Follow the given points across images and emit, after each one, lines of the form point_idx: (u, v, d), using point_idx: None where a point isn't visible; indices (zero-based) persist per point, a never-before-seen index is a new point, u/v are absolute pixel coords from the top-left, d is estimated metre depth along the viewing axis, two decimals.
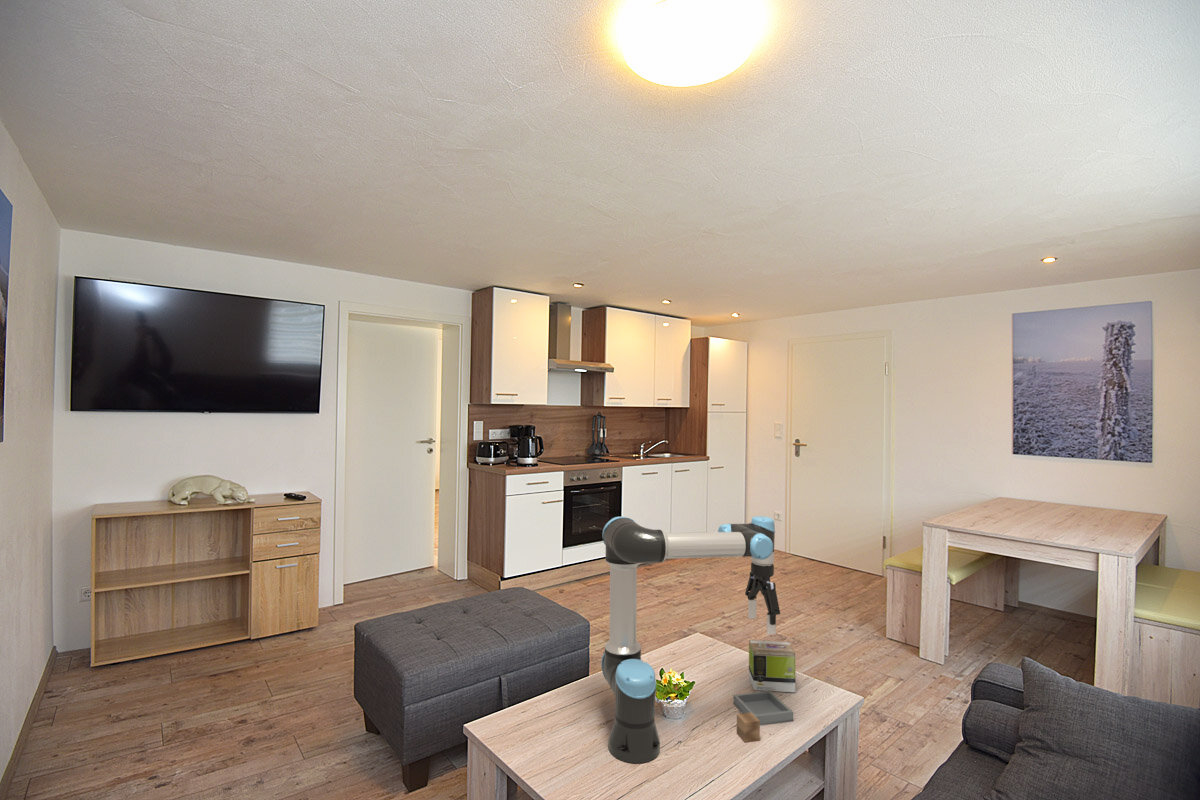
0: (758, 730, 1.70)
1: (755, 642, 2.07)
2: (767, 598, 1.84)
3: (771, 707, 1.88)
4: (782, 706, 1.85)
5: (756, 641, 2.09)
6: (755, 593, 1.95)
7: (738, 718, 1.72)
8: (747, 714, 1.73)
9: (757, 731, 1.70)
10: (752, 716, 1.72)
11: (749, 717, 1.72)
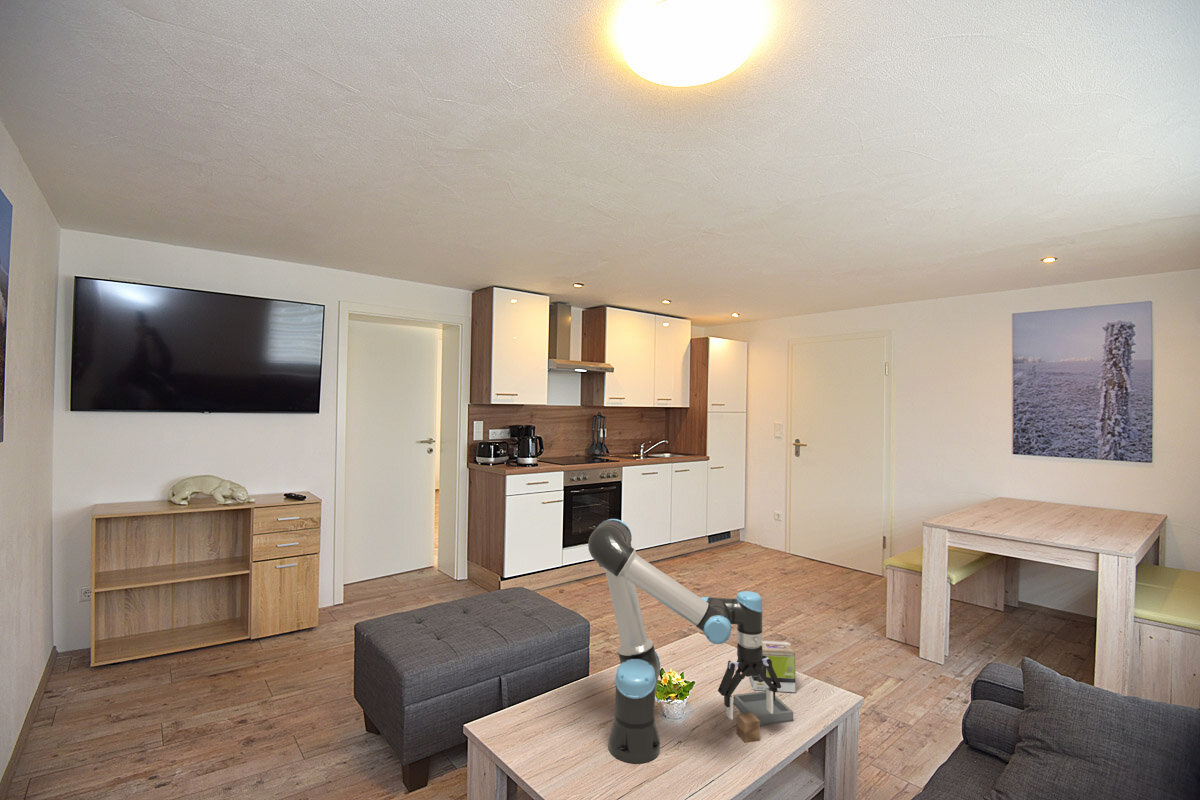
0: (758, 730, 1.70)
1: None
2: (733, 678, 1.71)
3: None
4: (782, 706, 1.85)
5: None
6: (765, 682, 1.73)
7: (739, 718, 1.72)
8: (747, 714, 1.73)
9: (757, 731, 1.70)
10: (752, 716, 1.72)
11: (749, 717, 1.72)
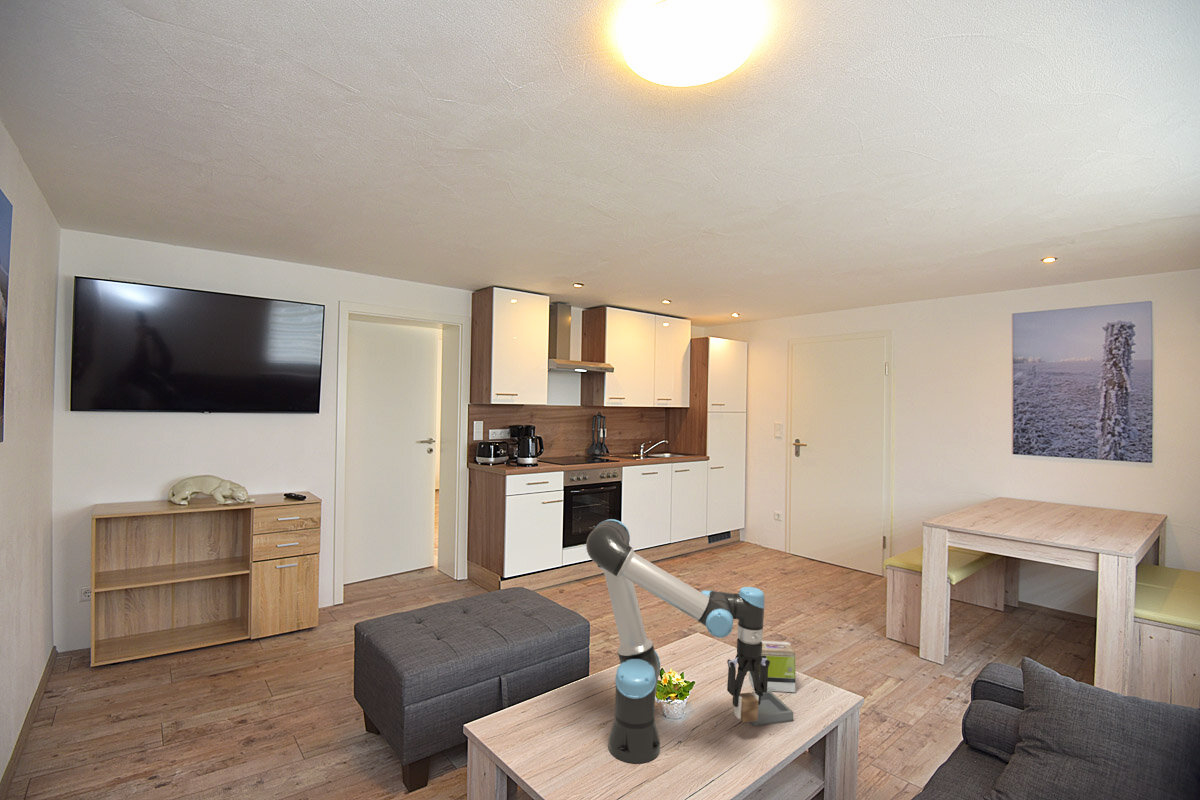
0: (756, 710, 1.70)
1: None
2: (737, 677, 1.72)
3: (771, 707, 1.88)
4: (782, 706, 1.85)
5: None
6: (755, 682, 1.72)
7: None
8: (746, 694, 1.74)
9: (755, 711, 1.70)
10: (751, 696, 1.73)
11: (748, 697, 1.72)
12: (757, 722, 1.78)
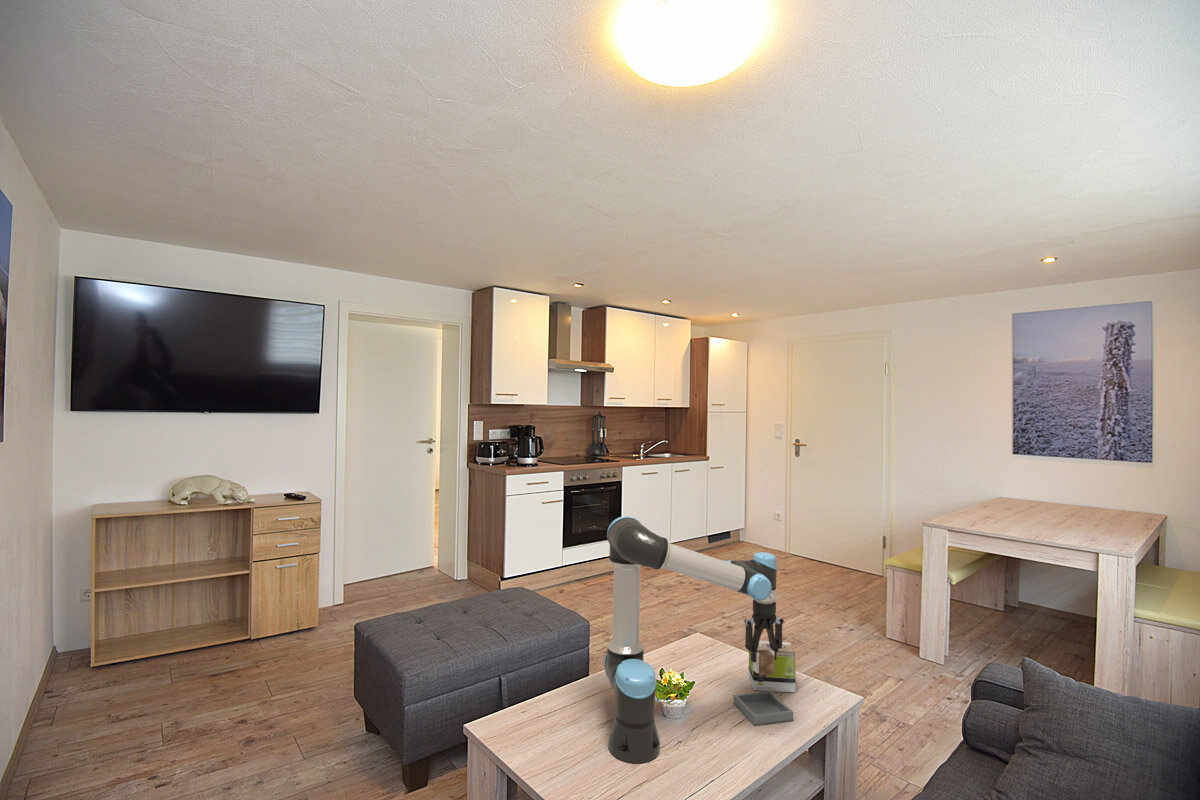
0: (773, 664, 1.85)
1: None
2: (754, 635, 1.87)
3: (771, 707, 1.88)
4: (782, 706, 1.85)
5: None
6: (770, 639, 1.87)
7: None
8: (762, 651, 1.88)
9: (772, 665, 1.84)
10: (767, 652, 1.87)
11: (765, 653, 1.87)
12: (757, 722, 1.78)
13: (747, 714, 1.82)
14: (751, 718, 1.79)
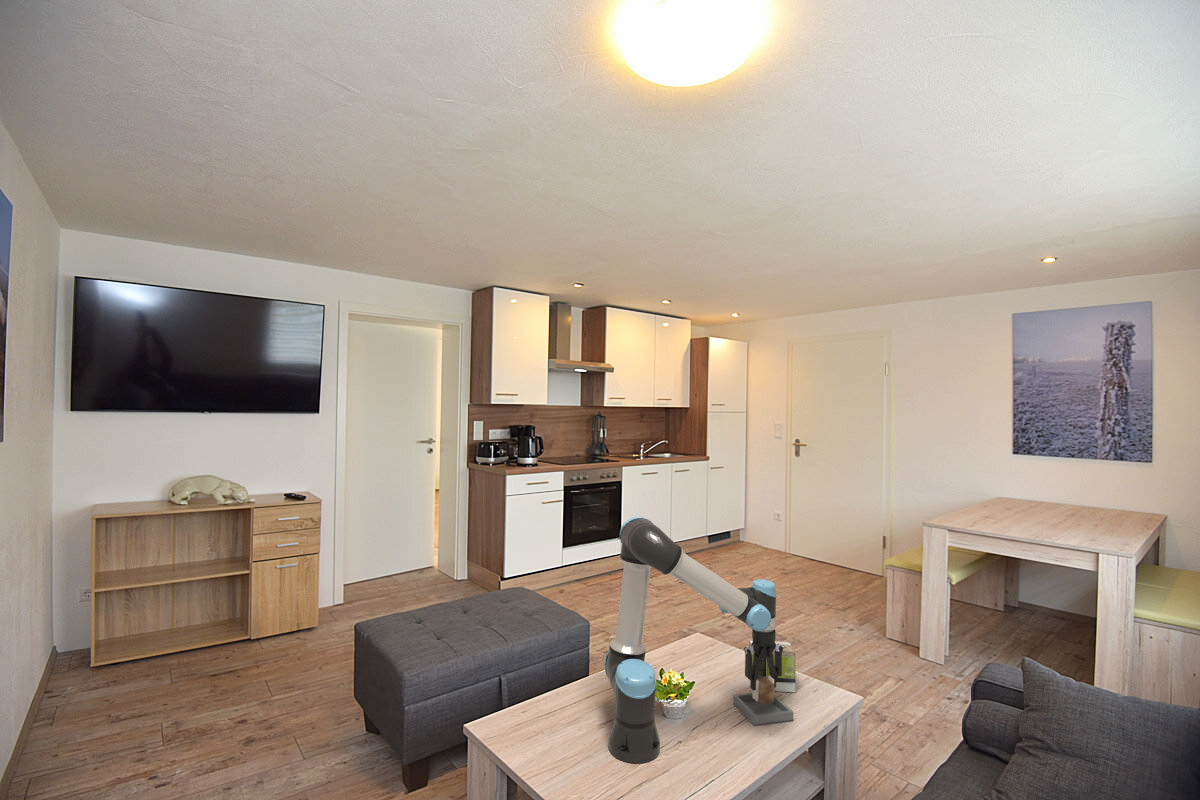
0: (773, 692, 1.84)
1: None
2: (753, 662, 1.86)
3: (771, 707, 1.88)
4: (782, 706, 1.85)
5: None
6: (770, 667, 1.87)
7: None
8: (762, 678, 1.88)
9: (772, 693, 1.84)
10: (767, 680, 1.87)
11: (764, 680, 1.87)
12: (757, 722, 1.78)
13: (747, 714, 1.82)
14: (751, 718, 1.79)
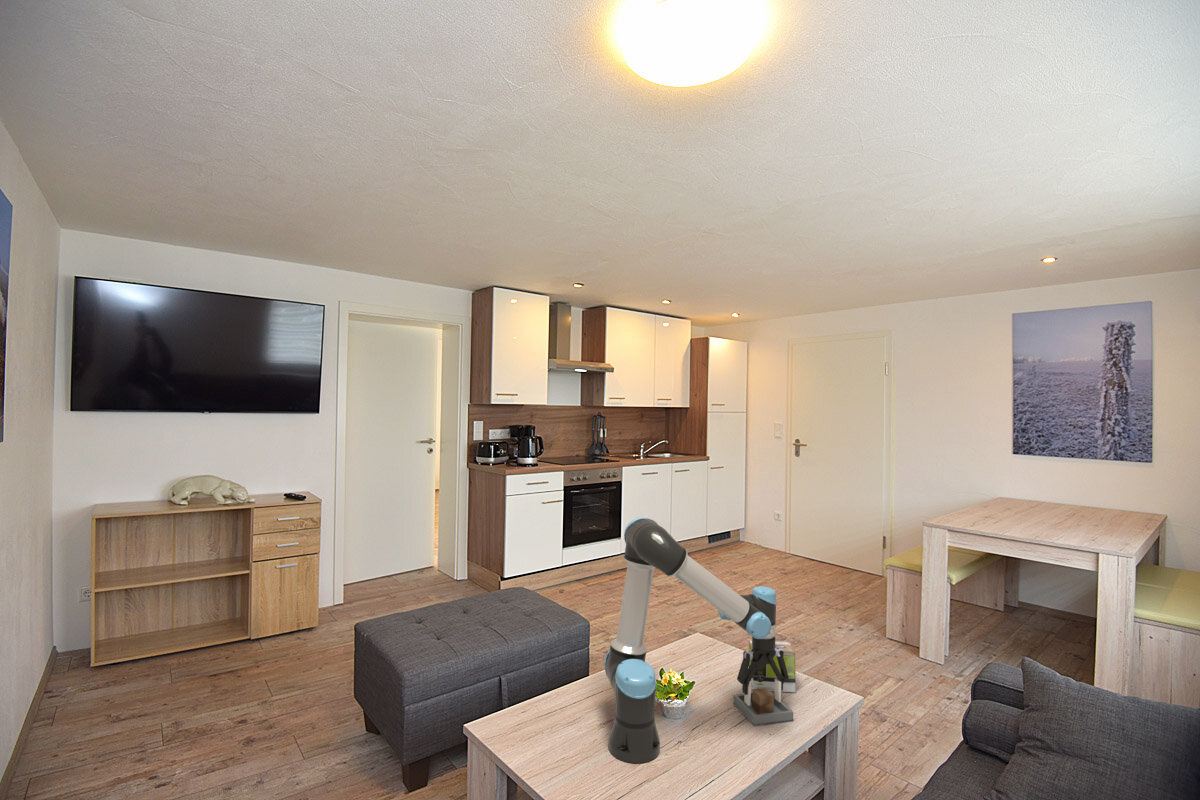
0: (772, 704, 1.84)
1: None
2: (749, 667, 1.86)
3: None
4: (782, 706, 1.85)
5: None
6: (775, 672, 1.87)
7: (754, 693, 1.87)
8: (762, 689, 1.88)
9: (771, 704, 1.84)
10: (766, 691, 1.87)
11: (764, 692, 1.86)
12: (757, 722, 1.78)
13: (747, 714, 1.82)
14: (751, 718, 1.79)
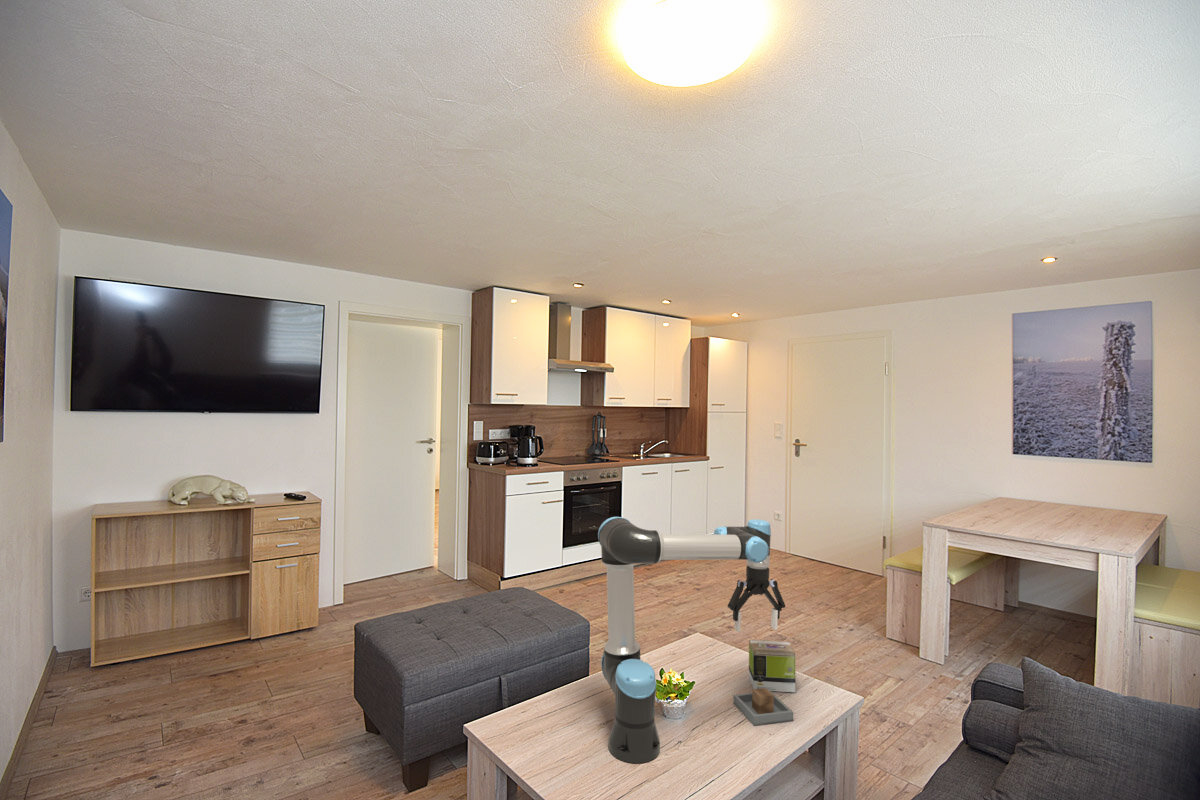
0: (772, 704, 1.84)
1: (755, 642, 2.07)
2: (741, 596, 1.89)
3: None
4: (782, 706, 1.85)
5: (756, 641, 2.09)
6: (771, 601, 1.90)
7: (754, 693, 1.87)
8: (762, 689, 1.88)
9: (771, 704, 1.84)
10: (766, 691, 1.87)
11: (764, 692, 1.86)
12: (757, 722, 1.78)
13: (747, 714, 1.82)
14: (751, 718, 1.79)
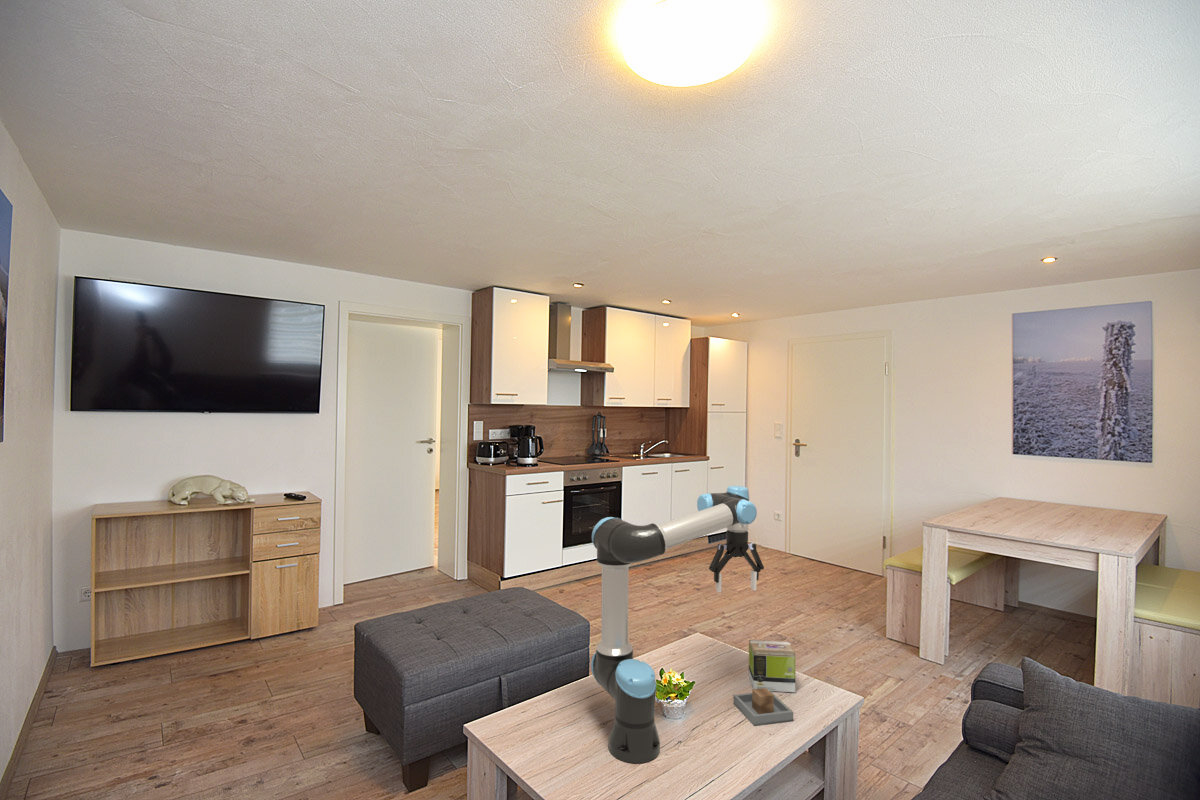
0: (772, 704, 1.84)
1: (755, 642, 2.07)
2: (722, 559, 1.97)
3: None
4: (782, 706, 1.85)
5: (756, 641, 2.09)
6: (750, 563, 1.99)
7: (754, 693, 1.87)
8: (762, 689, 1.88)
9: (771, 704, 1.84)
10: (766, 691, 1.87)
11: (764, 692, 1.86)
12: (757, 722, 1.78)
13: (747, 714, 1.82)
14: (751, 718, 1.79)
